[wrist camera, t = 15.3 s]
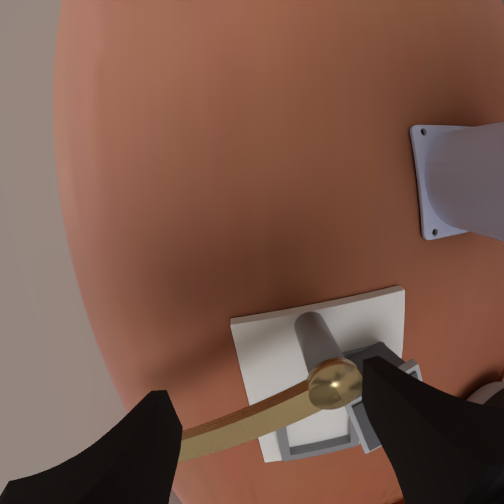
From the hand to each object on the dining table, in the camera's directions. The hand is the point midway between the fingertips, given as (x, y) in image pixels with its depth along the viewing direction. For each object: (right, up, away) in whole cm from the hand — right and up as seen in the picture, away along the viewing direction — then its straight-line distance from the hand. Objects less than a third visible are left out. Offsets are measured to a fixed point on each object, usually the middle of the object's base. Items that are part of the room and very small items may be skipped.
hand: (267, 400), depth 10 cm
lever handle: (-2, -4, +5) cm, 6 cm away
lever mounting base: (+5, -5, +11) cm, 14 cm away
